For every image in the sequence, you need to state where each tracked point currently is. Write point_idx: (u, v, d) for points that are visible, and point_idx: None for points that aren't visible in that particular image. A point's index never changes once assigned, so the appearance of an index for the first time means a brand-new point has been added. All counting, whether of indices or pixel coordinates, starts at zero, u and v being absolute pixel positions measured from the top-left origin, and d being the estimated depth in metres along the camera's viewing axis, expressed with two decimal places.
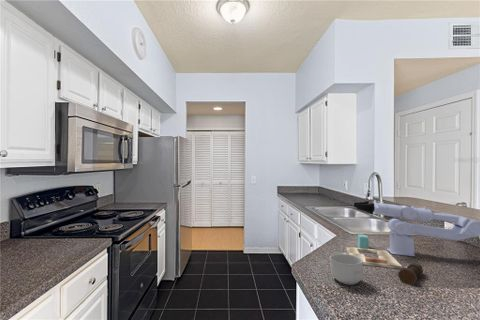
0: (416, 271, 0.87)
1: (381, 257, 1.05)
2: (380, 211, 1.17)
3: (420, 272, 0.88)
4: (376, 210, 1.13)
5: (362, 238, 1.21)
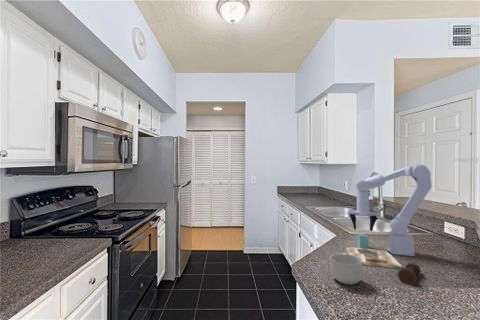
0: (415, 271, 0.87)
1: (381, 257, 1.05)
2: (357, 208, 1.24)
3: (418, 271, 0.88)
4: None
5: (362, 238, 1.21)
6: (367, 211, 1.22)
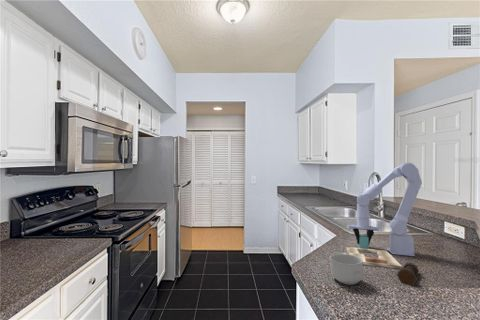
0: (413, 271, 0.87)
1: (381, 257, 1.05)
2: (357, 222, 1.24)
3: (416, 271, 0.89)
4: (348, 227, 1.25)
5: (362, 238, 1.21)
6: (367, 225, 1.21)
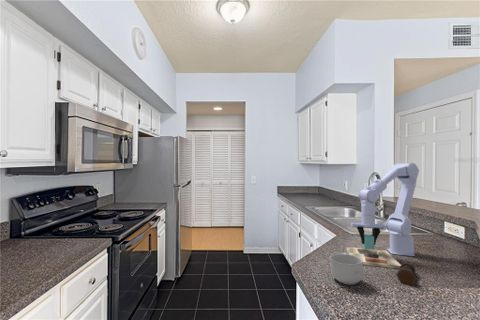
0: None
1: (381, 257, 1.05)
2: (362, 220, 1.13)
3: (413, 271, 0.89)
4: (351, 225, 1.15)
5: (367, 237, 1.11)
6: (373, 223, 1.10)
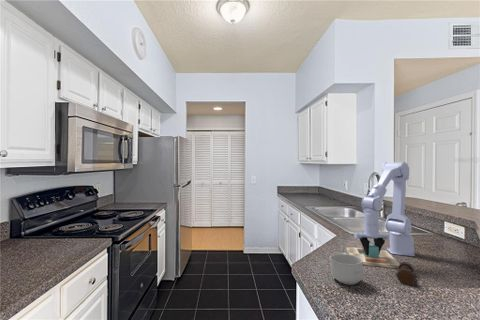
0: None
1: (381, 257, 1.05)
2: (366, 230, 1.06)
3: (411, 270, 0.89)
4: (355, 236, 1.07)
5: (372, 248, 1.05)
6: (378, 233, 1.05)
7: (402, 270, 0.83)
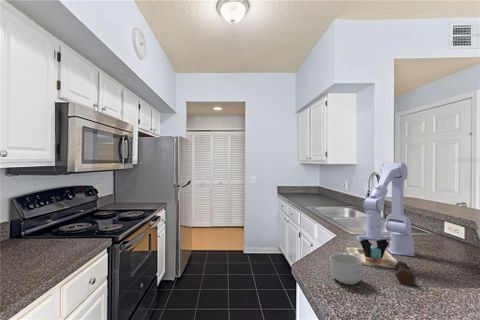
0: None
1: None
2: (369, 232, 1.02)
3: (408, 270, 0.90)
4: (358, 239, 1.02)
5: (374, 251, 1.01)
6: (380, 235, 1.01)
7: (402, 270, 0.83)
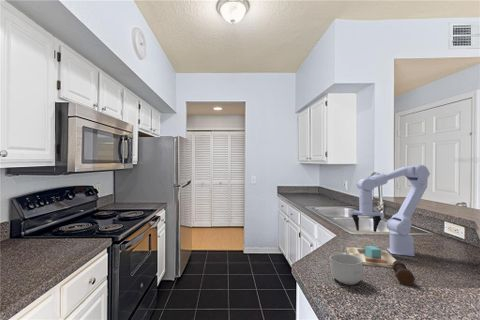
0: None
1: (381, 257, 1.05)
2: (360, 208, 1.18)
3: None
4: (350, 213, 1.19)
5: (374, 251, 1.01)
6: (370, 211, 1.15)
7: (402, 270, 0.83)
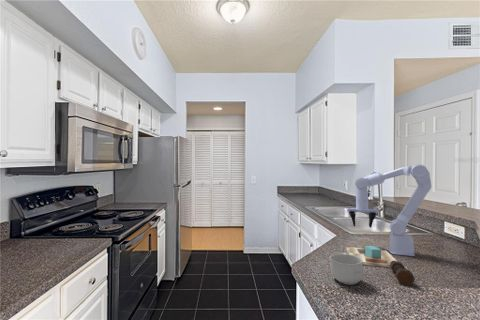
0: None
1: (381, 257, 1.05)
2: (356, 205, 1.26)
3: None
4: (347, 210, 1.28)
5: (374, 251, 1.01)
6: (366, 208, 1.24)
7: (402, 271, 0.83)
